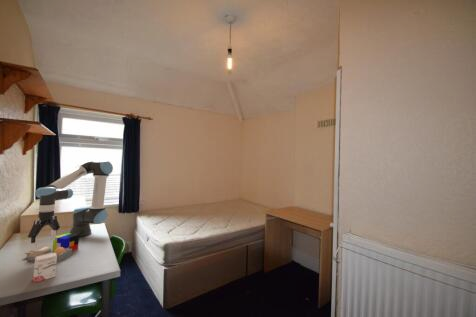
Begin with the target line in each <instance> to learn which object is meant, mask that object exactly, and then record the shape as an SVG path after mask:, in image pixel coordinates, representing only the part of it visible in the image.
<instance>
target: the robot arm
mask: <svg viewBox="0 0 476 317" xmlns="http://www.w3.org/2000/svg"><path fill="white" fill-rule="evenodd" d="M113 170H114V168H113V164H112V163H111V162H110V161H109V160H104V159H103V160H101V159H100V160H96V159H92V160H91V159H90V160H87V161H85V162H82V163H81V164H79V165H77V166H76V167H75V169H72V171H70V172H68V173H66V174H65V175H63V176H62V177H60V178H58V179H57V180H55V181H54V182H52V183H50V184H48V185H47V186H45V187H43V186H42V187H39V188H36V189H35V192H34V194H35V197H37V198H38V199H39V205H38V206H39V207H38V211H39V212H38V216H37V218H39V219H38V220H34V221H33V225H32V226H31V229H30V231H29V233H28V235H27V238H30V243H31V245H30V248H31V249H36V248H37V247H38V235H39V234H40V232H41V230H42V229H43V228H44V227H46V226H49V227H50V228H51V229H52V230H51V232H50V233H51V234H50V240H51V241H53V240H56V236H57V235H58V233H57V232H58V231H59V229H60V227H61V225H60V223H59V222H58V216H57V215H55V206H56V202H57V201H61V200H68V199H71V198H72V197H73V195H74V191H73V190H72V189H71V188H66V187H68V186H69V185H71V184H72V183H74V182H76V181H77V180H79V179H80V178H82V177H84V176H87V175H90V174H92V176H93V177H94V183H93V190H92V200H91V206H83V207H78V208H75V209H73V213H72V226H71V229H70V231H69V233H71V234H78V235H79V238H82V237H83V238H84V237H87V236H89V235H91V234H92V229H91V225H90V224H94V225H101V224H103V223H104V222H105V221H106V220H107V218H108V216H109V212H108V210H106V206H105V205H104V204H105V194H106V188H107V178H108V177H109V176H110V174H112V173H113V172H114V171H113Z"/></svg>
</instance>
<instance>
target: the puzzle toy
mask: <svg viewBox="0 0 476 317" xmlns="http://www.w3.org/2000/svg"><path fill="white" fill-rule="evenodd" d="M79 240H80V237H79V235H78V234H71V233H70V232H68V233H67V232H66V233H63V234H60V235H56V240H52V249H51V251H55V250H56V249H57V248H59V247H63V248H65V250H69V249H72V252H73V251H75V250H78V249H79Z"/></svg>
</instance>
